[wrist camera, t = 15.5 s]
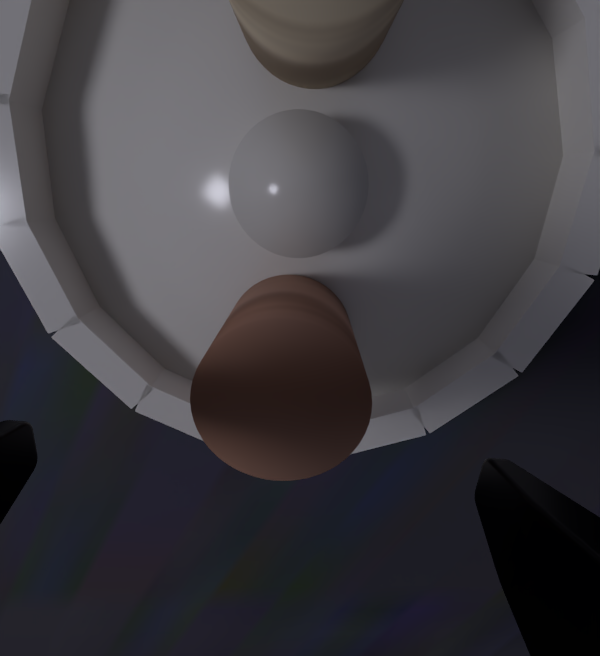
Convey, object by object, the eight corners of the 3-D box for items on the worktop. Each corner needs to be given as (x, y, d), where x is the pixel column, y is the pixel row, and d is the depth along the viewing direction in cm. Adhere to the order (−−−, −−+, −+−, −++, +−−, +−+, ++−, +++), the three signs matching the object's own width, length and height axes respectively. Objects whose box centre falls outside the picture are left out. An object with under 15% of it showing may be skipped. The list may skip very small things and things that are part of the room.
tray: (665, -142, 11) (771, -240, 8) (497, 434, 17) (529, 475, 14) (-14, -204, 11) (-111, -322, 8) (66, 398, 17) (25, 435, 14)
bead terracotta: (343, 392, 15) (359, 486, 10) (228, 384, 15) (191, 473, 10) (357, 279, 14) (384, 328, 9) (229, 269, 13) (188, 313, 9)
